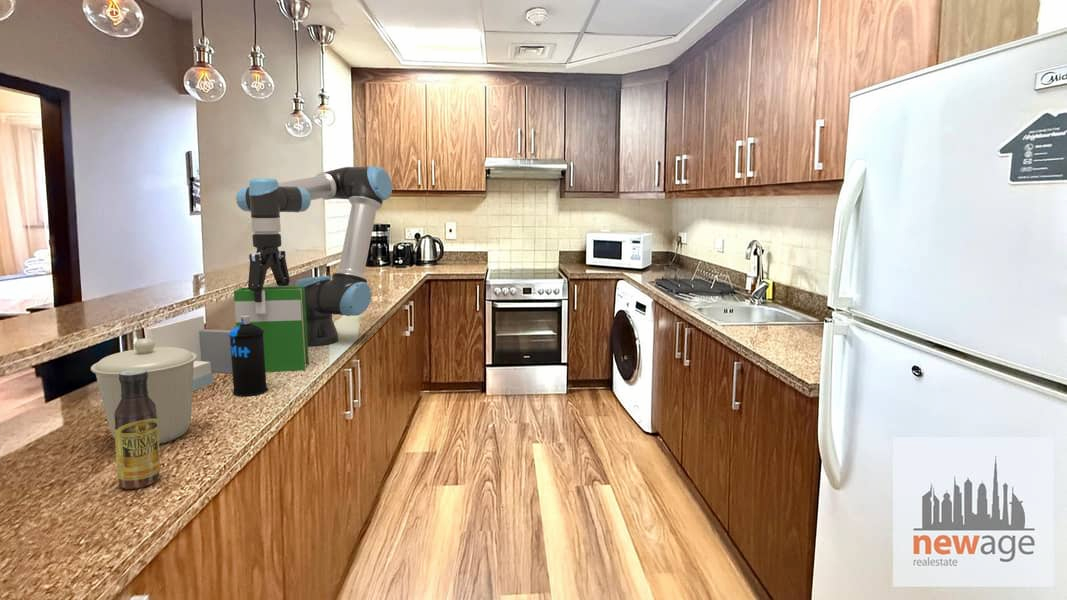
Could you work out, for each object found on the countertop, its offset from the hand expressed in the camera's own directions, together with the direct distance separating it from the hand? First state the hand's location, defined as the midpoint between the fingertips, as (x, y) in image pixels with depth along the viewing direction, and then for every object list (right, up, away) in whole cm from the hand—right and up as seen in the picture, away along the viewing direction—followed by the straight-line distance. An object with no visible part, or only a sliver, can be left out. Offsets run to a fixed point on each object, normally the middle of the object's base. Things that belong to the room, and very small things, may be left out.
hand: (271, 310), depth 173 cm
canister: (-2, -26, -50) cm, 56 cm away
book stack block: (-17, -20, -15) cm, 30 cm away
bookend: (-14, -18, -1) cm, 23 cm away
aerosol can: (+3, -21, -19) cm, 29 cm away
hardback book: (0, -18, +3) cm, 18 cm away
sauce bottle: (+8, -29, -70) cm, 76 cm away
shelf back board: (-22, -19, -8) cm, 30 cm away
